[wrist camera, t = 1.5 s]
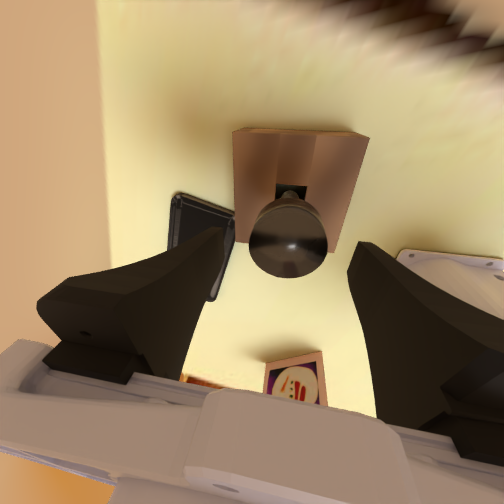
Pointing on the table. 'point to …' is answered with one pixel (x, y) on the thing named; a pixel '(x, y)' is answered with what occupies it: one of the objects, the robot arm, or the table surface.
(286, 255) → the dark round knob
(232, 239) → the phone
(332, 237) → the box
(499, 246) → the table surface
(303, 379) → the greeting card
